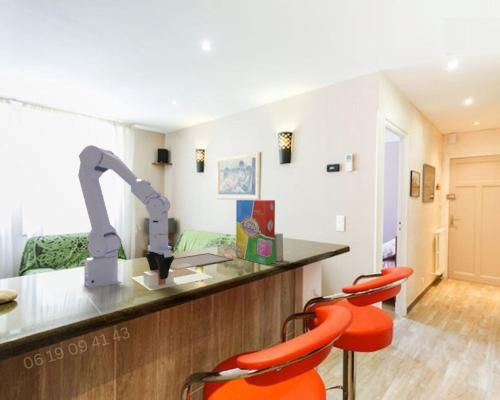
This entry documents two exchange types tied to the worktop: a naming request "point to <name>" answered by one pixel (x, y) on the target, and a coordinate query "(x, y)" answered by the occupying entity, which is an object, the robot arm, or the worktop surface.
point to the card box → (157, 278)
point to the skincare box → (278, 246)
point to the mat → (177, 278)
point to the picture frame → (200, 260)
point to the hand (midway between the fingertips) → (159, 276)
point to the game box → (255, 230)
